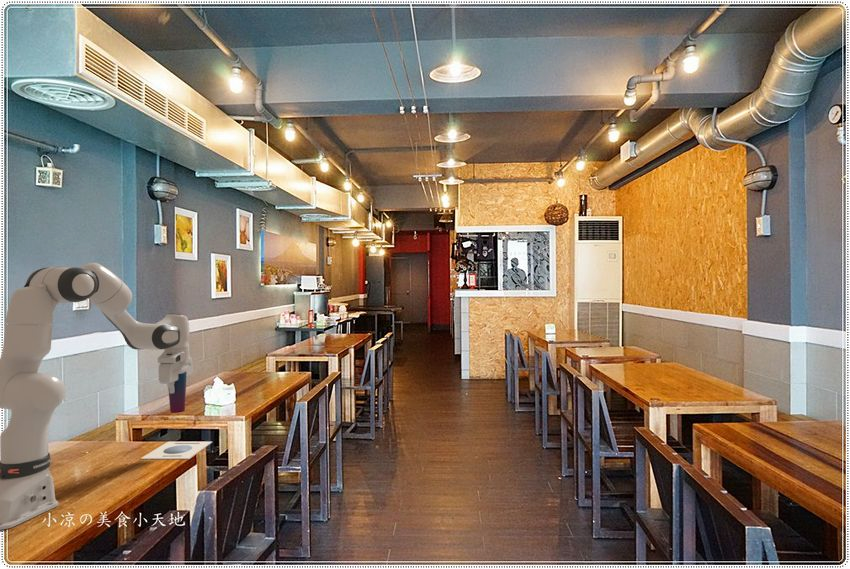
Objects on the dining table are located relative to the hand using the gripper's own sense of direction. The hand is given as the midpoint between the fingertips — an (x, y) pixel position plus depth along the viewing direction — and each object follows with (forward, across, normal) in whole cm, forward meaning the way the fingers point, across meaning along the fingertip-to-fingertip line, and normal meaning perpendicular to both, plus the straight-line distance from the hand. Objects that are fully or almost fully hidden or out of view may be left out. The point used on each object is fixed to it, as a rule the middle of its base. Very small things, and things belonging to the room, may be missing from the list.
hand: (177, 391), depth 200 cm
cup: (+8, 0, 0) cm, 8 cm away
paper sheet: (+23, 0, 0) cm, 23 cm away
